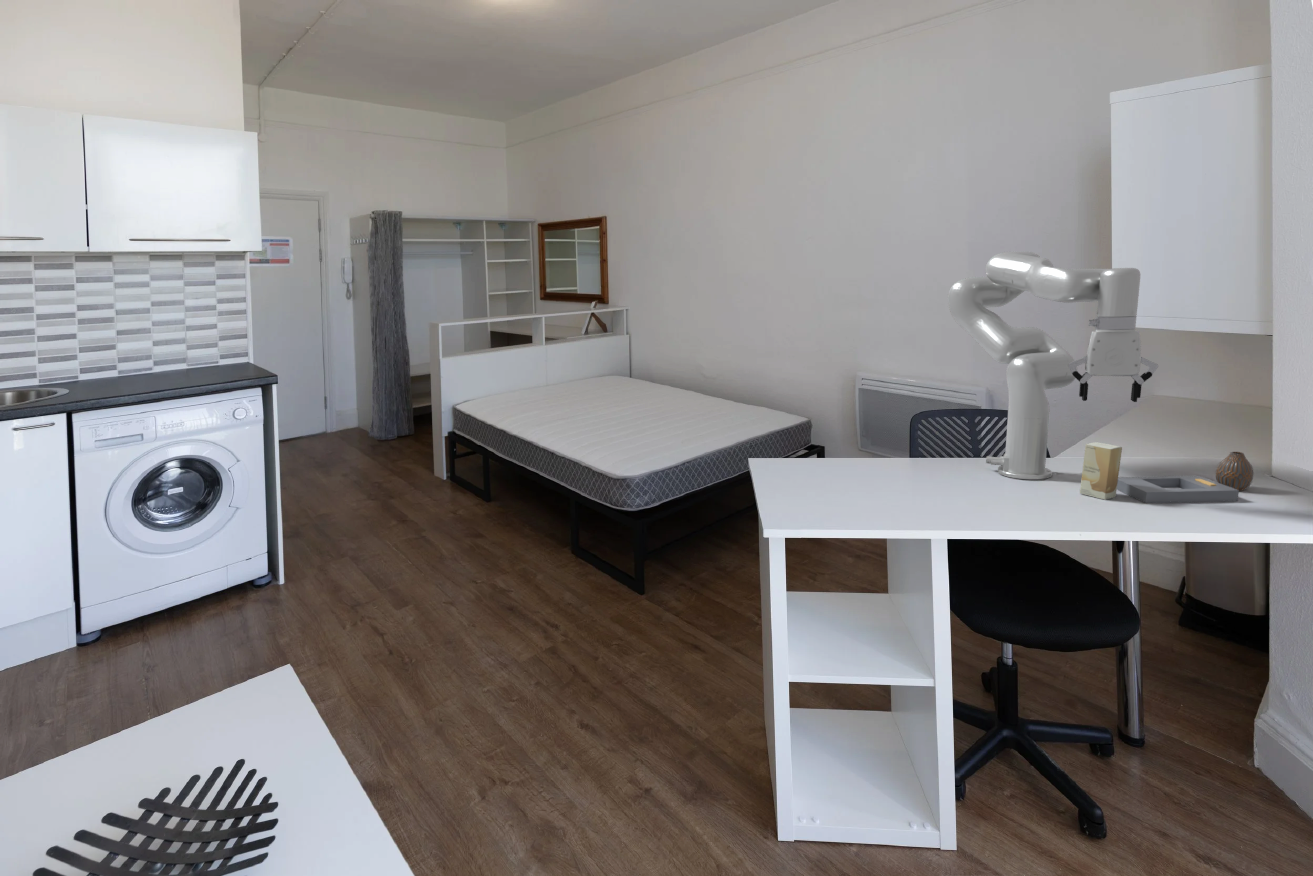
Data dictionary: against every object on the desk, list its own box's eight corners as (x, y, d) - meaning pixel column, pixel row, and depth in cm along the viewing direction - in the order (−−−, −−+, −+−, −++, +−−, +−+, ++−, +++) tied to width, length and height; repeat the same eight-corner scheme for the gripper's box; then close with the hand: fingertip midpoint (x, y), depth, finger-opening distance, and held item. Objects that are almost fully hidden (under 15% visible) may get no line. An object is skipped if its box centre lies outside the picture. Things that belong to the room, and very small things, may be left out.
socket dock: (1145, 503, 160) (1147, 491, 159) (1111, 487, 173) (1112, 476, 172) (1237, 501, 159) (1239, 489, 159) (1196, 485, 172) (1197, 474, 171)
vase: (1221, 491, 166) (1225, 455, 165) (1209, 484, 173) (1213, 448, 171) (1256, 493, 164) (1262, 456, 162) (1243, 485, 170) (1248, 450, 169)
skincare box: (1078, 494, 168) (1083, 443, 166) (1090, 491, 170) (1094, 441, 168) (1106, 500, 163) (1111, 448, 160) (1117, 497, 165) (1122, 446, 162)
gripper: (1072, 326, 159) (1066, 402, 162) (1166, 325, 152) (1157, 404, 155) (1069, 324, 166) (1063, 397, 169) (1158, 323, 158) (1150, 399, 162)
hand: (1108, 400), depth 162 cm, fingers open, 9 cm apart
